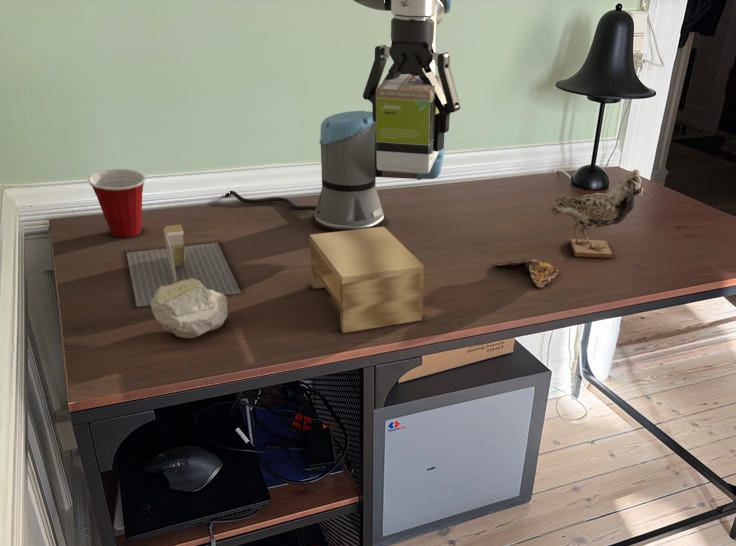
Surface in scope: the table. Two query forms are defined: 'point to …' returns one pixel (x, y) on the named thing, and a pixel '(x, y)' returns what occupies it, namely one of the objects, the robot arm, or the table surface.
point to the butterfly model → (539, 271)
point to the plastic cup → (120, 199)
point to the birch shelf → (368, 277)
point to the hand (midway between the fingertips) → (409, 144)
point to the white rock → (189, 308)
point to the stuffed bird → (600, 213)
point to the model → (178, 267)
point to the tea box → (405, 125)
